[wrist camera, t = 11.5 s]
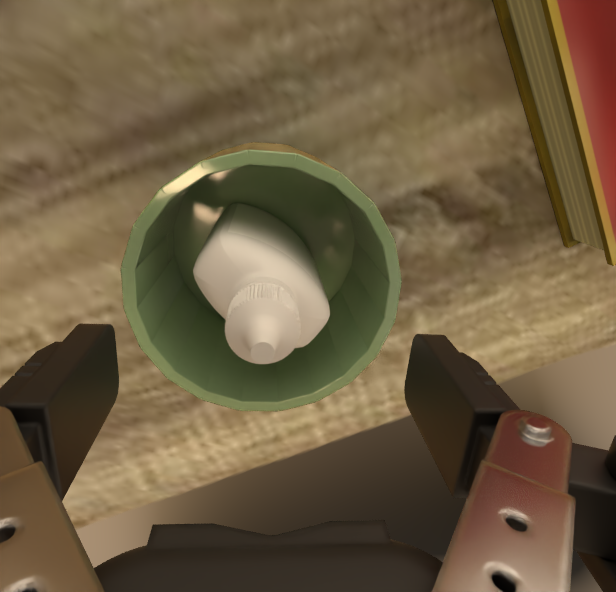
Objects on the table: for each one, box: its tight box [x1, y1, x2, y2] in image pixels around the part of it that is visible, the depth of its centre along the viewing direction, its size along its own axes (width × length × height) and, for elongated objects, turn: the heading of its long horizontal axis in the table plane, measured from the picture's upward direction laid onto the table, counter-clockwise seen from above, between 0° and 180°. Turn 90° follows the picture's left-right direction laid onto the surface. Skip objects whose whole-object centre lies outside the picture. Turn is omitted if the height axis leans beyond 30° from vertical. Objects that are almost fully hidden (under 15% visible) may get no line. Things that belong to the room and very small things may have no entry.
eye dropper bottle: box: [193, 203, 330, 364], centre depth 18 cm, size 4×6×12 cm
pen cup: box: [121, 142, 402, 411], centre depth 21 cm, size 11×11×8 cm
